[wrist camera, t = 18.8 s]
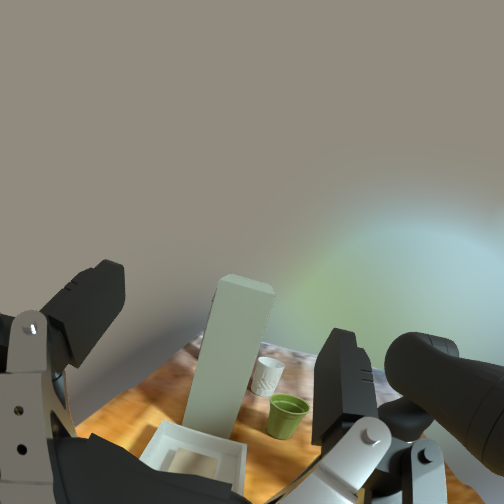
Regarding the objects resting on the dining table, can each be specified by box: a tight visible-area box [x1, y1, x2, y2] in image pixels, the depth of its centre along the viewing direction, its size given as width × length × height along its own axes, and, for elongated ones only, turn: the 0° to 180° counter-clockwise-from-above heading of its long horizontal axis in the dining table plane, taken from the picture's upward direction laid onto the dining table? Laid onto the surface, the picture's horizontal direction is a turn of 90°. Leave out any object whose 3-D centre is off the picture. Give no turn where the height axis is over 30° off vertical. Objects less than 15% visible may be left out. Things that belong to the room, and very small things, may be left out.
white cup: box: [251, 357, 285, 397], centre depth 79 cm, size 8×8×10 cm
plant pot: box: [266, 394, 310, 439], centre depth 58 cm, size 9×9×9 cm
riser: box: [182, 274, 275, 440], centre depth 60 cm, size 10×20×32 cm, turn 178°
